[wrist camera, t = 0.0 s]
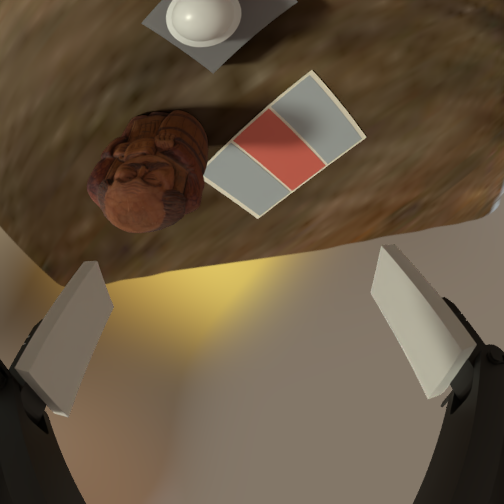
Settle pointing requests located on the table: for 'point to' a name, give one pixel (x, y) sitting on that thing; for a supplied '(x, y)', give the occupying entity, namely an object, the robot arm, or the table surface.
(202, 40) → the dome
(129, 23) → the table surface
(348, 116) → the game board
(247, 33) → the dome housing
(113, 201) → the wooden figurine
